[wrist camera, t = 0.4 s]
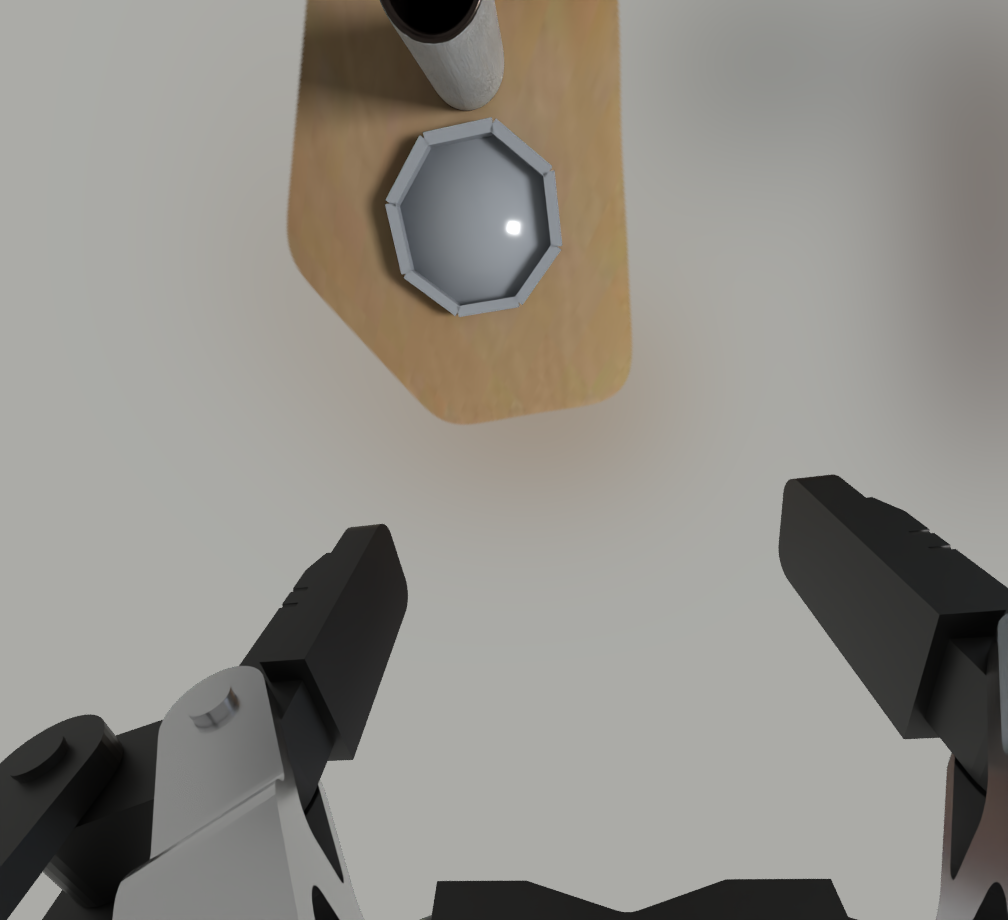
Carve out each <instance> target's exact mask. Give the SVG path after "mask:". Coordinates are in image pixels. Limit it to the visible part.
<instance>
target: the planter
mask: <svg viewBox="0 0 1008 920" xmlns="http://www.w3.org/2000/svg"><path fill="white" fill-rule="evenodd" d="M380 2H381V5H382V7H383V9H384V11H385V13H386V15H387V17H388V18H389V20H390V21H391V23H392V25H393V26H394V28H395V29H396V31H397V32H398V34H399V35H400V37H401V38H402V40H403V41H404V43H405V45H406V46H407V48H408V49H409V51H410V52H411V54H412V55H413V57H414V58H415V60H416V61H417V63H418V64H419V66H420V68H421V69H422V71H423V72H424V74H425V75H426V77H427V78H428V80H429V81H430V83H431V84H432V86H433V87H434V89H435V91H436V92H437V93H438V95H439V96H440V97H441V98H442V99H443V100H444V101H445V102H446V103H447V104H449V105H450V106H452V107H454V108H456V109H460V110H475V109H478V108H480V107H482V106H484V105H485V104H487V103H488V102H489V101H490V100H491V99H492V98H493V97H494V95H495V94H496V92H497V90H498V88H499V86H500V84H501V81H502V77H503V72H504V52H503V46H502V40H501V35H500V29H499V24H498V18H497V13H496V7H495V2H494V0H380Z"/></svg>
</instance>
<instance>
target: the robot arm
mask: <svg viewBox="0 0 1008 920" xmlns="http://www.w3.org/2000/svg"><path fill="white" fill-rule="evenodd" d="M779 557H780V562H781V566H782V569H783V571H784V574H785V575H786V577H787V579H788V580H789V582H790V583H791V585H792V586H793V587H794V589H795V590H796V591H797V593H798V594H799V596H800V597H801V598H802V600H803V601H804V603H805V604H806V605H807V607H808V608H809V609H810V611H811V612H812V613H813V615H814V616H815V618H816V619H817V620H818V622H819V623H820V624H821V626H822V627H823V629H824V630H825V631H826V633H827V634H828V635H829V637H830V638H831V640H832V641H833V642H834V644H835V645H836V646H837V648H838V649H839V651H840V652H841V653H842V655H843V656H844V657H845V659H846V660H847V662H848V663H849V664H850V666H851V667H852V669H853V670H854V671H855V673H856V674H857V675H858V677H859V678H860V679H861V681H862V682H863V684H864V685H865V686H866V688H867V689H868V691H869V692H870V693H871V695H872V696H873V697H874V699H875V700H876V702H877V703H878V704H879V706H880V707H881V708H882V710H883V711H884V713H885V714H886V715H887V716H888V718H889V719H890V721H891V722H892V723H893V725H894V726H895V728H896V729H897V730H898V732H899V733H900V735H901V736H902V737H903V739H918V738H941V739H942V741H943V742H944V743H945V744H946V746H947V747H948V748H949V749H950V751H951V752H952V753H951V756H950V759H949V762H948V766H947V777H946V797H945V815H944V816H945V817H944V834H943V852H942V871H941V888H940V899H939V906H938V912H937V916H936V920H1008V588H1007V587H1006V586H1004V585H1003V584H1002V583H1000V582H999V581H997V580H996V579H995V578H994V577H992V576H991V575H990V574H988V573H987V572H986V571H984V570H983V569H982V568H980V567H979V566H978V565H976V564H975V563H974V562H972V561H971V560H970V559H968V558H967V557H966V556H964V555H963V554H962V553H960V552H959V551H957V550H956V549H951V548H950V544H948V543H947V542H945V541H944V540H943V539H941V538H940V537H939V536H938V535H936V534H935V533H930V532H929V529H928V528H927V527H925V526H924V525H923V524H921V523H920V522H919V521H917V520H916V519H915V518H913V517H912V516H911V515H909V514H908V513H907V512H905V511H903V510H901V509H899V508H896V507H894V506H892V505H889V504H887V503H884V502H882V501H880V500H877V499H875V498H873V497H870V498H866V497H864V496H863V495H862V494H861V493H859V492H858V491H857V490H855V489H854V488H853V487H852V486H851V485H849V484H848V483H847V482H845V481H844V480H843V479H842V478H840V477H839V476H836V475H824V476H816V477H807V478H797V479H790V480H789V481H788V482H787V483H786V485H785V488H784V493H783V504H782V515H781V526H780V537H779ZM407 602H408V590H407V584H406V579H405V576H404V573H403V570H402V567H401V564H400V561H399V558H398V555H397V551H396V548H395V545H394V542H393V539H392V536H391V533H390V531H389V529H388V527H387V526H386V525H384V524H377V525H368V526H359V527H351V528H348V529H347V530H346V531H345V532H344V534H343V535H342V537H341V538H340V540H339V541H338V543H337V545H336V546H335V548H334V549H333V551H332V552H331V553H326V554H325V555H323V556H322V557H321V558H320V559H319V560H317V561H316V562H315V563H314V564H313V565H311V566H310V567H309V568H308V569H307V570H306V571H305V572H304V574H303V575H302V577H301V578H300V579H299V581H298V582H297V584H296V585H295V587H294V588H293V592H291V593H290V594H289V595H288V597H287V598H286V600H285V601H284V602H283V607H282V608H279V609H278V611H277V612H276V614H275V615H274V617H273V618H272V620H271V621H270V622H269V624H268V625H267V627H266V628H265V630H264V631H263V632H262V634H261V636H260V637H259V638H258V640H257V641H256V643H255V644H254V645H253V647H252V648H251V650H250V651H249V653H248V654H247V655H246V657H245V658H244V660H243V661H242V663H241V664H240V665H239V666H237V667H232V668H228V669H225V670H222V671H219V672H217V673H215V674H213V675H211V676H209V677H207V678H206V679H204V680H202V681H201V682H199V683H198V684H196V685H195V686H193V687H192V688H191V689H190V690H189V691H187V692H186V693H185V694H184V695H183V696H182V697H181V698H179V700H178V701H177V702H176V703H175V704H174V705H173V706H172V707H171V709H170V710H169V711H168V713H167V714H166V716H165V718H164V719H163V720H161V721H158V722H155V723H152V724H149V725H146V726H143V727H140V728H137V729H134V730H131V731H128V732H125V733H122V734H120V735H116V736H115V735H114V733H113V732H112V731H111V730H110V728H109V727H108V726H107V724H106V723H105V722H104V721H103V719H102V718H101V717H99V716H96V715H82V716H77V717H73V718H70V719H67V720H65V721H62V722H60V723H58V724H56V725H54V726H52V727H50V728H48V729H46V730H44V731H43V732H41V733H39V734H38V735H36V736H34V737H33V738H31V739H30V740H28V741H27V742H25V743H24V744H23V745H21V746H20V747H19V748H17V749H16V750H15V751H14V752H13V753H12V754H10V755H9V756H8V757H7V758H6V759H5V760H4V761H3V762H1V763H0V920H7V919H8V917H9V916H10V915H11V913H12V912H13V911H14V909H15V908H16V907H17V905H18V904H19V902H20V901H21V900H22V898H23V897H24V896H25V894H26V893H27V892H28V890H29V889H30V887H31V886H32V885H33V884H34V882H35V881H36V879H37V878H38V877H39V875H40V874H41V873H42V871H43V872H44V873H45V874H46V875H47V876H48V877H49V878H50V879H51V880H53V882H55V883H56V884H57V885H58V886H59V887H60V888H61V889H62V891H61V893H60V894H59V896H58V897H57V899H56V900H55V902H54V903H53V905H52V906H51V908H50V909H49V910H48V912H47V914H46V915H45V916H44V918H43V919H42V920H364V918H363V915H362V913H361V911H360V908H359V905H358V903H357V900H356V897H355V894H354V891H353V887H352V884H351V880H350V877H349V874H348V870H347V866H346V863H345V859H344V856H343V853H342V849H341V845H340V842H339V838H338V835H337V831H336V828H335V824H334V821H333V818H332V814H331V811H330V807H329V803H328V800H327V797H326V793H325V790H324V787H323V785H322V783H321V781H320V778H321V775H322V773H323V770H324V768H325V765H326V763H327V761H335V760H353V758H354V756H355V753H356V750H357V747H358V744H359V742H360V739H361V736H362V733H363V730H364V727H365V725H366V721H367V719H368V716H369V713H370V711H371V708H372V705H373V702H374V699H375V697H376V694H377V691H378V688H379V685H380V682H381V680H382V677H383V674H384V671H385V668H386V665H387V662H388V660H389V657H390V654H391V651H392V648H393V646H394V643H395V640H396V637H397V634H398V632H399V629H400V626H401V623H402V620H403V617H404V615H405V612H406V608H407ZM420 920H857V919H853V918H850V917H848V916H847V914H846V911H845V909H844V907H843V905H842V903H841V901H840V898H839V896H838V894H837V892H836V889H835V887H834V885H833V883H832V881H831V879H734V880H723V881H720V882H718V883H715V884H712V885H709V886H706V887H704V888H701V889H698V890H695V891H692V892H689V893H687V894H684V895H681V896H678V897H675V898H673V899H670V900H667V901H664V902H661V903H659V904H656V905H653V906H650V907H647V908H645V909H642V910H639V911H635V912H620V911H616V910H613V909H610V908H607V907H604V906H601V905H598V904H594V903H591V902H589V901H586V900H583V899H580V898H577V897H574V896H571V895H568V894H564V893H562V892H559V891H556V890H553V889H550V888H546V887H544V886H541V885H538V884H534V883H532V882H529V881H438V882H437V886H436V893H435V899H434V906H433V911H432V915H431V916H428V917H425V918H422V919H420Z"/></svg>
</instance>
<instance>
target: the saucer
mask: <svg viewBox="0 0 1008 920" xmlns="http://www.w3.org/2000/svg"><path fill="white" fill-rule="evenodd" d="M423 135H424V138H423V137H421V136H420V135H419V137H418V139H417V141H416V143H415V145H414V147H413V149H412V150H411V152H410V154H409V156H408V158H407V160H406V162H405V164H404V166H403V168H402V170H401V171H400V173H399V175H398V177H397V179H396V181H395V183H394V185H393V187H392V189H391V191H390V192H389V194H388V196H387V198H386V201H387V202H389V203H390V204H385V206H386V211H387V215H388V219H389V223H390V228H391V232H392V236H393V241H394V245H395V249H396V253H397V258H398V262H399V266H400V270H401V274H406V275H405V276H404V278H405V279H406V280H407V281H409V282H410V283H411V284H413V285H414V286H415V287H417V288H418V289H419V290H421V291H422V292H424V293H425V294H426V295H428V296H429V297H430V298H432V299H433V300H434V301H436V302H437V303H438V304H440V305H441V306H442V307H444V308H445V309H447V310H448V311H449V312H451V313H452V314H453V315H455V316H456V315H457V314H458V315H459V317H462V316H468V315H474V314H480V313H486V312H492V311H498V310H504V309H510V308H516V307H519V306H520V304H522V305H523V303H524V302H525V300H526V299H527V298H528V296H529V295H530V293H531V292H532V290H533V289H534V288H535V286H536V285H537V283H538V282H539V281H540V279H541V278H542V276H543V275H544V273H545V272H546V271H547V269H548V268H549V266H550V265H551V263H552V262H553V261H554V259H555V258H556V256H557V255H558V253H559V252H560V251H561V249H560V248H558V247H557V246H562V239H561V229H560V220H559V210H558V200H557V191H556V181H555V172H554V171H551V170H552V166H551V165H550V164H549V163H548V162H547V161H545V160H544V159H543V158H542V157H541V156H540V155H538V154H537V153H536V152H535V151H534V150H532V149H531V148H530V147H529V146H528V145H527V144H525V143H524V142H523V141H522V140H521V139H520V138H518V137H517V136H516V135H515V134H514V133H512V132H511V131H510V130H509V129H508V128H507V127H505V126H504V125H503V124H502V123H501V122H499V121H498V120H497V119H495V121H494V122H493V120H492V117H491V118H486V119H481V120H477V121H472V122H468V123H463V124H459V125H454V126H450V127H445V128H440V129H436V130H431V131H427V132H423Z"/></svg>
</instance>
